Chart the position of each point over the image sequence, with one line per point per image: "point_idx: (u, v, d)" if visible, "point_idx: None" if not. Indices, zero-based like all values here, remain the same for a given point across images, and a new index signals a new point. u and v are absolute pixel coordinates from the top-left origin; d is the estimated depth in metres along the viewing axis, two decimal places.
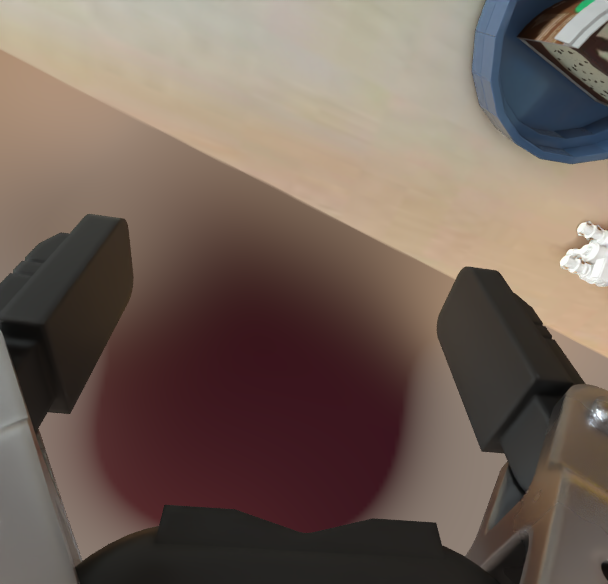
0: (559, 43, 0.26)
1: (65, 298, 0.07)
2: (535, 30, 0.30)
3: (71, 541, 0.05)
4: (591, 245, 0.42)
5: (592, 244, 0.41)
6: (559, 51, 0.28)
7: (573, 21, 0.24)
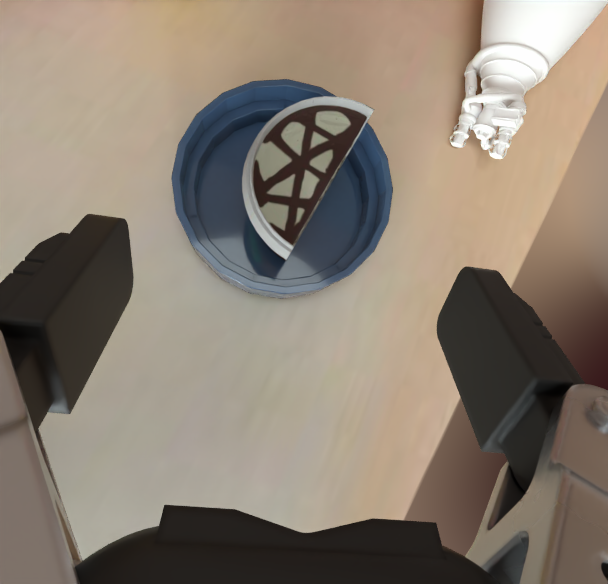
0: (290, 251, 0.29)
1: (65, 298, 0.07)
2: None
3: (71, 541, 0.05)
4: (476, 131, 0.39)
5: (475, 130, 0.39)
6: None
7: (273, 248, 0.28)
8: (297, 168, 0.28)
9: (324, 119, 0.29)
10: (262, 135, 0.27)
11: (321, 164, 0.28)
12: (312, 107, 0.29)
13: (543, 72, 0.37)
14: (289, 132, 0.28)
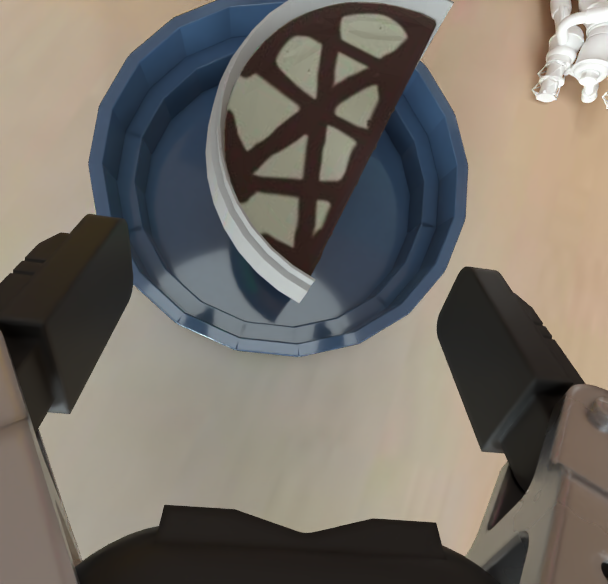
0: None
1: (65, 298, 0.07)
2: None
3: (71, 541, 0.05)
4: (579, 72, 0.25)
5: (577, 71, 0.25)
6: None
7: (273, 283, 0.14)
8: (311, 122, 0.14)
9: (357, 29, 0.15)
10: (238, 58, 0.13)
11: (358, 114, 0.14)
12: (333, 8, 0.15)
13: None
14: (292, 56, 0.14)
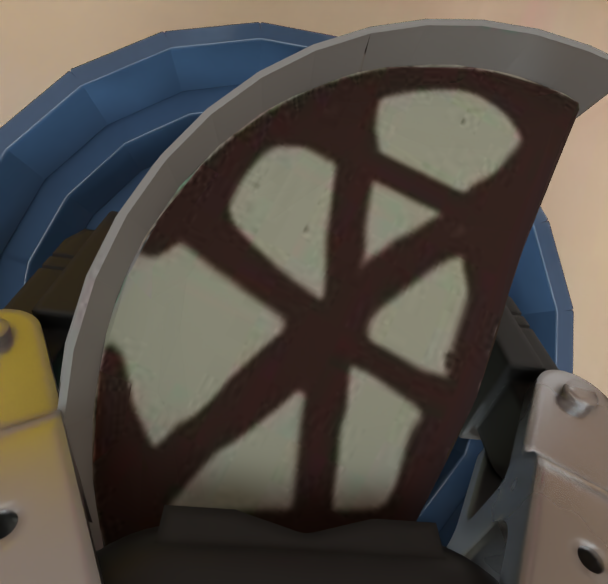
0: None
1: None
2: None
3: None
4: None
5: None
6: None
7: None
8: (314, 358, 0.06)
9: (413, 126, 0.07)
10: (124, 229, 0.05)
11: (423, 337, 0.06)
12: (360, 81, 0.07)
13: None
14: (269, 196, 0.06)
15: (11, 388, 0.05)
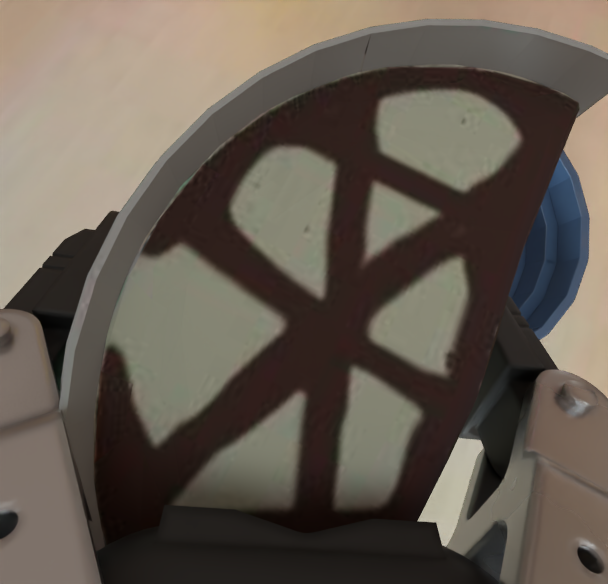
0: None
1: None
2: None
3: None
4: None
5: None
6: None
7: None
8: (315, 359, 0.06)
9: (414, 126, 0.07)
10: (125, 229, 0.05)
11: (424, 337, 0.06)
12: (361, 80, 0.07)
13: None
14: (269, 196, 0.06)
15: (11, 388, 0.05)
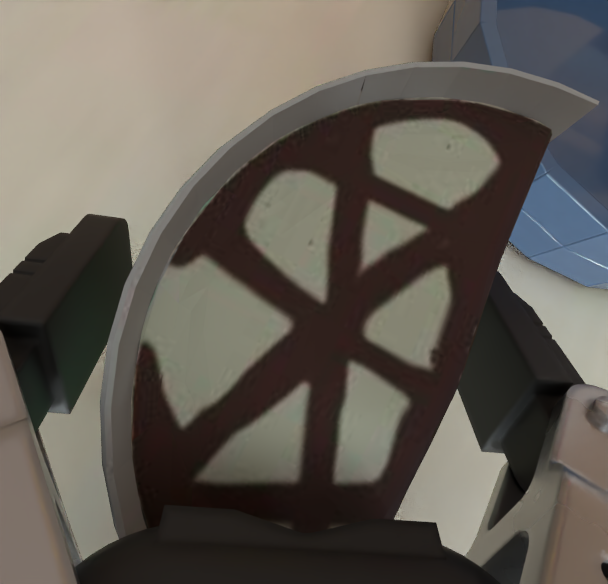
0: None
1: (65, 298, 0.07)
2: None
3: (71, 541, 0.05)
4: None
5: None
6: None
7: None
8: (318, 354, 0.07)
9: (404, 152, 0.08)
10: (158, 245, 0.06)
11: (412, 336, 0.07)
12: (358, 112, 0.08)
13: None
14: (278, 214, 0.07)
15: None
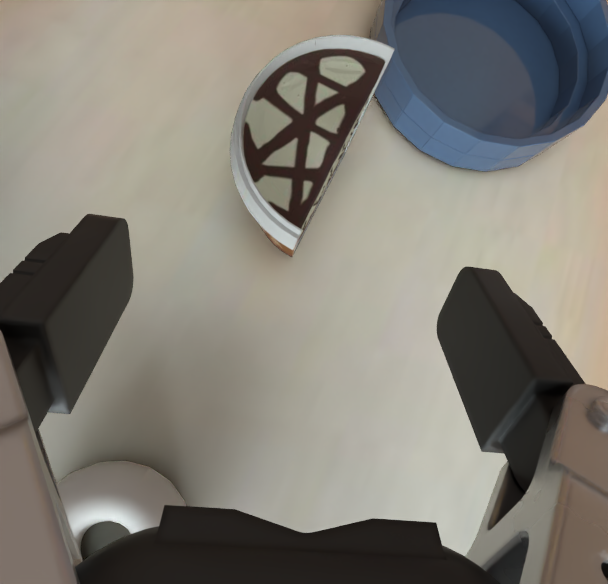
0: (297, 239, 0.22)
1: (65, 298, 0.07)
2: (285, 247, 0.28)
3: (71, 541, 0.05)
4: None
5: None
6: (304, 226, 0.25)
7: (275, 236, 0.22)
8: (300, 130, 0.22)
9: (331, 67, 0.22)
10: (252, 89, 0.21)
11: (331, 124, 0.22)
12: (314, 53, 0.22)
13: None
14: (287, 86, 0.22)
15: None
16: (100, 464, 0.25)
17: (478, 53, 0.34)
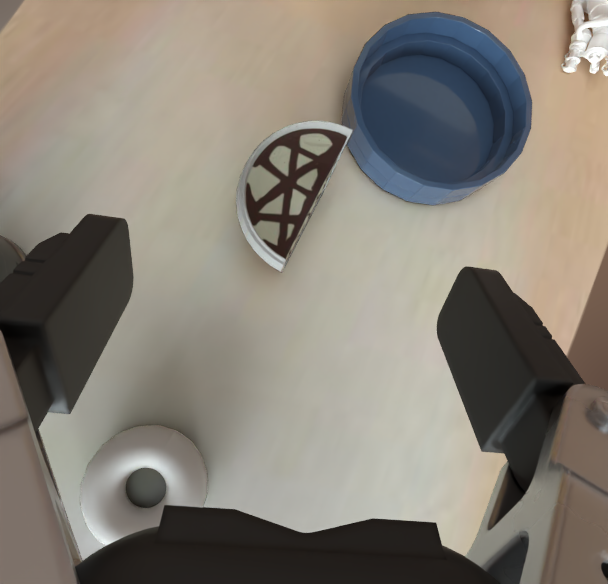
0: (284, 264, 0.32)
1: (65, 298, 0.07)
2: None
3: (71, 541, 0.05)
4: (589, 54, 0.44)
5: (588, 54, 0.44)
6: (289, 252, 0.34)
7: (268, 262, 0.31)
8: (286, 187, 0.31)
9: (308, 141, 0.31)
10: (252, 160, 0.30)
11: (307, 183, 0.31)
12: (296, 132, 0.31)
13: None
14: (277, 156, 0.31)
15: None
16: (140, 426, 0.34)
17: (429, 111, 0.43)
